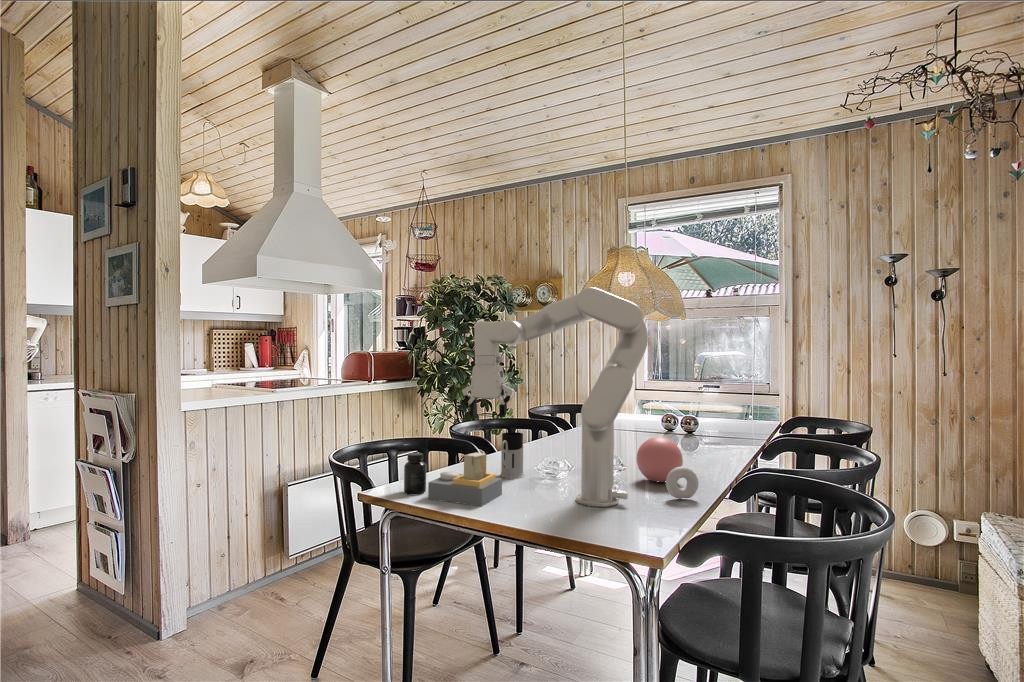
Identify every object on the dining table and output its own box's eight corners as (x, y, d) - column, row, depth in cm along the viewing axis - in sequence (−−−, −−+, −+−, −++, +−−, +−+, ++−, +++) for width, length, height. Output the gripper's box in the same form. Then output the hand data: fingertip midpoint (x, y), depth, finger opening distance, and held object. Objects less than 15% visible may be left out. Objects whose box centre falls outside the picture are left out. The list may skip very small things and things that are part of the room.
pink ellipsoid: (678, 475, 197) (678, 432, 198) (685, 488, 178) (685, 441, 178) (635, 473, 200) (635, 431, 201) (637, 486, 181) (637, 440, 181)
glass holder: (527, 474, 197) (528, 432, 197) (513, 483, 184) (514, 438, 184) (505, 472, 200) (505, 431, 200) (490, 480, 187) (490, 437, 187)
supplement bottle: (405, 489, 174) (405, 452, 174) (426, 489, 174) (426, 451, 175) (402, 495, 167) (403, 456, 167) (425, 494, 168) (425, 455, 168)
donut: (695, 497, 167) (695, 465, 167) (700, 500, 163) (700, 467, 164) (664, 498, 166) (664, 465, 166) (668, 501, 163) (668, 467, 163)
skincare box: (474, 498, 161) (474, 456, 161) (462, 495, 163) (463, 455, 163) (486, 493, 166) (487, 453, 166) (475, 491, 169) (475, 451, 169)
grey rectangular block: (501, 494, 169) (502, 473, 169) (481, 506, 156) (482, 483, 156) (451, 488, 176) (451, 468, 176) (428, 499, 163) (428, 477, 163)
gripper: (517, 360, 168) (518, 416, 168) (467, 361, 175) (468, 414, 174) (508, 361, 161) (509, 419, 161) (456, 362, 168) (457, 417, 167)
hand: (488, 416), depth 167 cm, fingers open, 9 cm apart
